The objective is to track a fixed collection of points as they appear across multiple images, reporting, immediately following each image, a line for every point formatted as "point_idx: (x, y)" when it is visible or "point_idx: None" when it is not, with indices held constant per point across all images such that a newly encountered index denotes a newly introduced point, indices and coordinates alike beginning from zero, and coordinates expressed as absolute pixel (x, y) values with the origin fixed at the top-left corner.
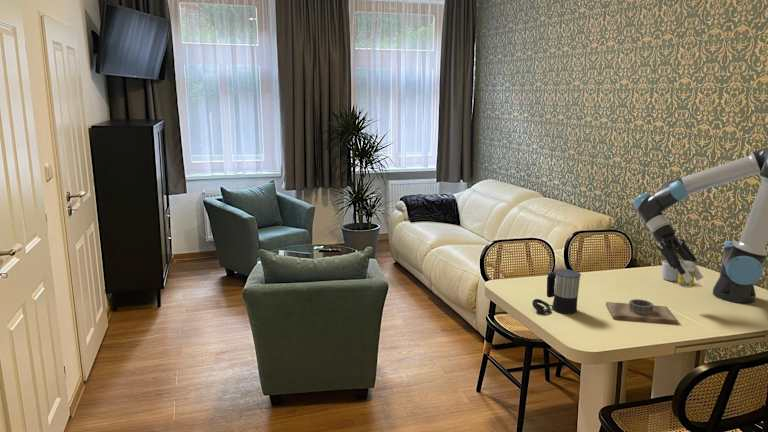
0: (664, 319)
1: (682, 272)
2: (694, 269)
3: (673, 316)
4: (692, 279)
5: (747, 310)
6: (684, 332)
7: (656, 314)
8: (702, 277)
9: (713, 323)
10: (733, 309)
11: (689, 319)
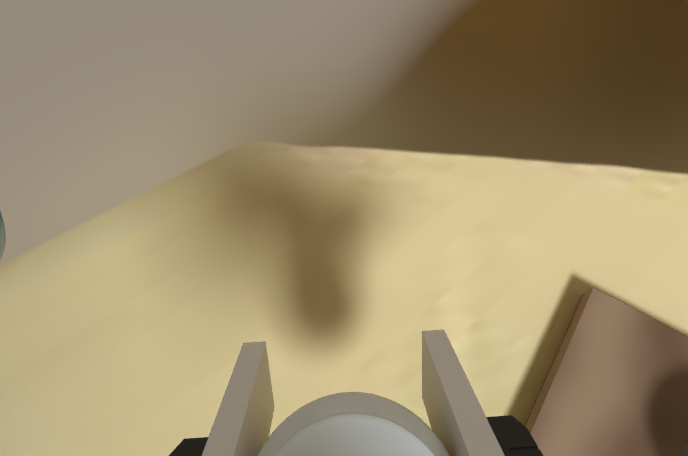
0: (663, 326)
1: (523, 435)
2: (308, 405)
3: (580, 336)
4: (434, 330)
5: (49, 294)
6: (613, 215)
7: (675, 402)
8: (256, 346)
9: (387, 239)
10: (94, 332)
11: (464, 318)
